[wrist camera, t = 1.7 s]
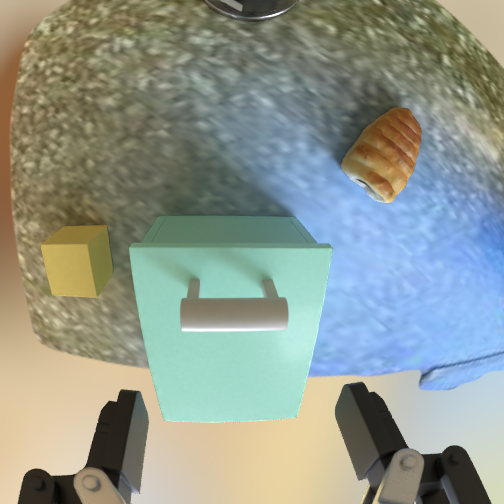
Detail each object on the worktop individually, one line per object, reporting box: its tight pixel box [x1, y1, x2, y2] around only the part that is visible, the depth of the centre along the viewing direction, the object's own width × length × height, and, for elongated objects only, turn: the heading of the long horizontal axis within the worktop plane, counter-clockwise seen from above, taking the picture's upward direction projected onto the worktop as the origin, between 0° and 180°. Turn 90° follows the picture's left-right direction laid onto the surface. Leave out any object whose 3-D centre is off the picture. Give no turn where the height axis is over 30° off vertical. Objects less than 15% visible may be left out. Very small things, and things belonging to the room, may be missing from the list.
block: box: [41, 225, 114, 298], centre depth 24 cm, size 5×5×5 cm
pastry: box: [341, 108, 422, 203], centre depth 24 cm, size 9×7×4 cm
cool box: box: [141, 216, 318, 244], centre depth 26 cm, size 17×13×9 cm
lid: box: [129, 243, 333, 422], centre depth 19 cm, size 17×13×5 cm
